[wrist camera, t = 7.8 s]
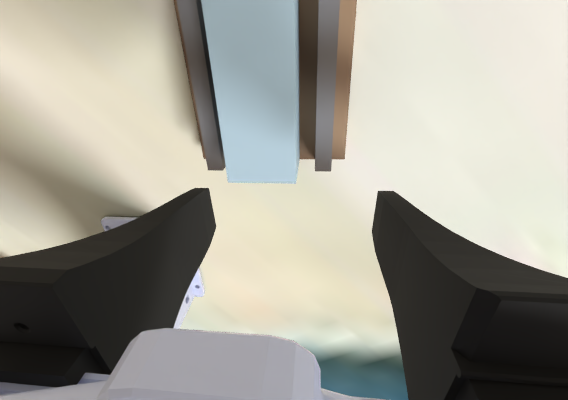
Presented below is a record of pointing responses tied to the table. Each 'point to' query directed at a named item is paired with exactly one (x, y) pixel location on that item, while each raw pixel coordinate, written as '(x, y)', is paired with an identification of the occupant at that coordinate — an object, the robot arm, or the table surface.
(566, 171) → the table surface
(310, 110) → the cradle
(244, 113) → the dome-topped blue pillar
